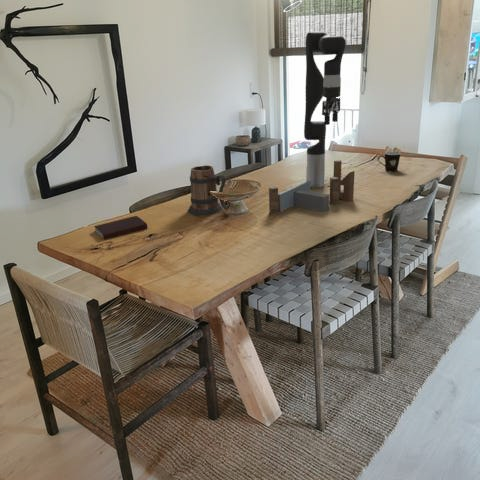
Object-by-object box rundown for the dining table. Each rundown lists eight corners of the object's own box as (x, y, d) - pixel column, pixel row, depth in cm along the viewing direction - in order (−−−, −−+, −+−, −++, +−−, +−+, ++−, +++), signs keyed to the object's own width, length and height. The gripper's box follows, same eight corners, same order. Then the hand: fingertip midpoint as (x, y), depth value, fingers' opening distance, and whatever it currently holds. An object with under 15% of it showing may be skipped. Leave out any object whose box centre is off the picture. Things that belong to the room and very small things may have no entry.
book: (148, 229, 203) (147, 222, 202) (104, 240, 194) (102, 233, 193) (137, 222, 213) (136, 215, 212) (94, 232, 204) (93, 225, 202)
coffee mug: (401, 169, 273) (402, 152, 269) (396, 173, 266) (398, 155, 262) (380, 167, 279) (382, 150, 275) (376, 171, 272) (377, 153, 268)
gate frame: (269, 213, 214) (268, 187, 209) (335, 201, 225) (335, 176, 220) (272, 215, 211) (271, 189, 207) (338, 203, 222) (339, 178, 217)
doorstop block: (293, 206, 222) (293, 191, 219) (298, 203, 225) (298, 189, 222) (323, 212, 212) (324, 197, 210) (328, 209, 215) (329, 194, 213)
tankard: (180, 212, 221) (175, 170, 213) (201, 202, 234) (198, 162, 226) (221, 219, 209) (218, 175, 201) (241, 208, 222) (239, 166, 214)
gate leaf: (274, 211, 214) (274, 194, 211) (306, 195, 234) (306, 180, 230) (279, 212, 213) (279, 195, 210) (311, 196, 232) (311, 180, 229)
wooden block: (348, 201, 224) (350, 164, 217) (330, 197, 231) (331, 160, 224) (353, 199, 226) (355, 162, 219) (335, 195, 234) (336, 159, 227)
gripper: (330, 84, 216) (329, 120, 222) (317, 87, 205) (316, 125, 211) (346, 84, 212) (345, 121, 218) (333, 87, 201) (332, 126, 207)
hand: (331, 123), depth 215 cm, fingers open, 8 cm apart
